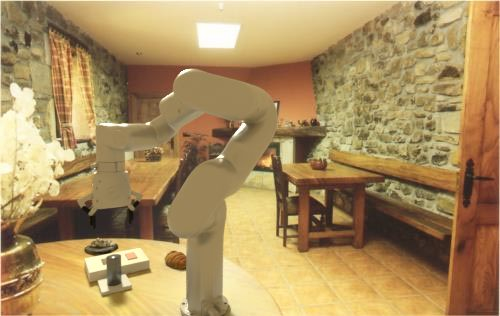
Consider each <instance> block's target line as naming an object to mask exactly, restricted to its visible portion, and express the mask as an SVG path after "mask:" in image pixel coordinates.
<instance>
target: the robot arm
mask: <svg viewBox="0 0 500 316" xmlns="http://www.w3.org/2000/svg"><path fill="white" fill-rule="evenodd" d="M158 110H159V112H160V115H159V116H157V117H156V118H154V119H152V120H151V121H148V122H146V123H120V124H119V123H99V124H97V125H96V127H95V157H96V158H95V162H93V163H90V169H93V170H95V171H94V172H93V177H92V184H91V192H90V193H88V194H86V195H84V196H82V197H80V198H78V199H77V201H76V202H77V204H78V206H79V207H80V208H81V210H82V211H83V212H85V213H86V214H88V225H89V227H91V228H92V230H96V229H97V227H96V226H97V225H96V214H95V213H96V212H97V211H98V210H103V209H113V208H121V207H123V208H124V207H127V209H126V222H127V224H129V225H132V222H133V221H134V211H135V210H136V209H135V208H137V207H138V206H139V205H140V202H141V200H142V198H143V194H142V193H140V192H138V191H135V190H132V189H131V178H130V174H129V171H127V170H126V153H130V152H131V153H132V152H137V151H147V150H151V149H154V148H157V147H159V146H160V145H162V144H164V143H165V142H167V141H169V140H171V139H172V138H173V137H175V136H176V135H177V133H179V131H181V128H182V127H184V126H186V125H188V124H189V123H191V122H192V121H194V120H196V119H198V118H200V116H203V115H204V114H207V115H211V116H215V117H218V118H221V119H225V120H227V121H231V122H232V121H233V122H242V123H241V125H240V126H239V128H238V129H237V130H236V131H235V133H234V134H232V136H231V137H230V138H229V141H228V142H227V144H226V146H225V147H224V149H223V150H222V151H221V153H220V154H219V155H218V156H217V157H215V158H212V159H208V160H205V161H203V162H201V163H199V164H198V165H197V166H196V167H194V169H193V170H192V171H191V172H190V174H189V175H188V176H187V178H186V179H185V181H184V183H183V184H182V186H181V188H180V189H179V191H178V192H177V194H176V195H175V197H174V198H173V200H172V201H171V204H170V205H169V208H168V210H167V215H166V219H167V220H166V221H167V225H168V228H169V231H170V232H171V233H172V234H173V235H174V236H175V237H177V238H180V239H183V240H186V246H185V247H186V251H185V256H186V267H185V274H186V275H185V278H186V279H185V280H186V281H185V285H186V286H185V287H186V288H185V291H186V292H185V297H184V298H183V299H182V301H181V302H180V307H179V310H180V313H181V315H182V316H224V315H226V313H227V311H228V310H229V300H228V298H227V297H226V296H225V295H224V293H223V292H224V289H223V288H224V287H223V285H224V282H223V281H224V280H223V279H224V238H225V237H224V236H225V226H226V222H227V213H228V209H227V203H226V199H228V198H229V197H231V196H233V195H235V194H236V193H238V191H240V189H241V188H242V187H243V185H244V183H245V182H246V180H247V179H248V177H249V176H250V174H251V172H252V171H253V170H254V168H255V167H256V166H257V164H258V163H259V160H260V159H261V158H262V156H263V155H264V153H265V152H266V150H267V149H268V148H269V146H270V144H271V143H272V141H273V139H274V137H275V134H276V131H277V127H278V122H279V121H278V120H279V118H278V112H277V111H278V110H277V106H276V104H275V102H274V100H273V98H272V97H271V96H270V94H269V93H268V92H267V91H265V89H263V88H261V87H259V86H257V85H255V84H251V83H248V82H245V81H242V80H238V79H234V78H230V77H226V76H222V75H218V74H215V73H214V74H213V73H210V72H207V71H204V70H201V69H197V68H189V69H185V70H183V71H181V72H180V73H179V74H178V75H177V76H176V77H175V79H174V80H173V85H172V92H170V93H169V94H168V95H166V96H165V97H163V98H162V99H161V100H160V102H159V104H158ZM132 196H133V197H135V199H134V200H133V202H132ZM90 200H91V206H90V207H88V206H87V205H86V204H85V203H86V202H87V201H90Z"/></svg>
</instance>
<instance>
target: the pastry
mask: <svg viewBox="0 0 500 316" xmlns="http://www.w3.org/2000/svg"><path fill="white" fill-rule="evenodd" d="M164 262H165V264H166V265H167V266H169V267H170V268H173V269H178V270H182V269H186V254H185V253H183V252H182V251H178V250H174V249H173V250H170V251H169V252H168V253H167V254H166V255H165V256H164Z"/></svg>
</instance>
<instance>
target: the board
mask: <svg viewBox="0 0 500 316" xmlns="http://www.w3.org/2000/svg"><path fill="white" fill-rule="evenodd" d="M112 254H120V255H121V274H122V275H123V274H126V275H128V274H132V273H133V274H134V273H137V272H140V271H141V272H142V271H145V270H149V269H150V259H149V257H148V256H147V255H146V253H145V252H144V251H143V250H142V248H141V247H137V248H132V249H127V250H121V251H117V252H115V251H114V252H111V253H108V254H104V255H95V256H89V257H85V258H84V269H85V271H86V276H87V279H88V282H89V283H92V282H98V280H102V279H106V278H107V266H106V257H107V256H109V255H112Z"/></svg>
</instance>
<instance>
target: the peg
mask: <svg viewBox="0 0 500 316" xmlns="http://www.w3.org/2000/svg"><path fill="white" fill-rule="evenodd" d="M106 266H107V285H108V286H116V285H119V284H121V282H122V274H121V255H120V254H112V255H109V256H107V257H106Z"/></svg>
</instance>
